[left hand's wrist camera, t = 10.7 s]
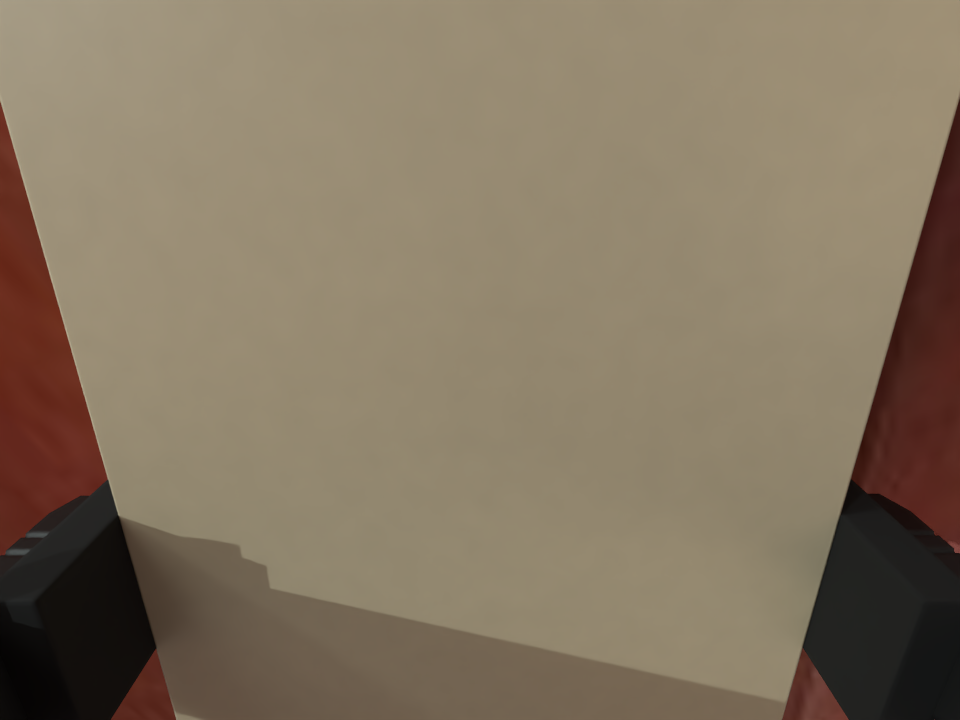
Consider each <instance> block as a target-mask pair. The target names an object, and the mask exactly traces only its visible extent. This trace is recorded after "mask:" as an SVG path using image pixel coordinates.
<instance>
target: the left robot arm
mask: <svg viewBox="0 0 960 720" xmlns="http://www.w3.org/2000/svg"><path fill="white" fill-rule="evenodd" d="M803 648H804V650H805V652H806V653H807V655H808V656H809V658H810V659H811V661H812V662H813V664H814V666H815V667H816V669H817V670H818V672H819V673H820V675H821V677H822V678H823V680H824V681H825V683H826V684H827V686H828V688H829V689H830V691H831V692H832V694H833V695H834V697H835V699H836V700H837V702H838V703H839V705H840V706H841V708H842V710H843V711H844V713H845V714H846V716H847V717H848V719H849V720H934V719H935V720H960V553H955V552H954V548H953V547H951V546H950V545H949V544H948V543H947V542H946V541H944V540H943V539H942V538H941V537H940V536H935V535H934V531H933V530H932V529H930V528H929V527H928V526H927V525H926V524H925V523H923V522H922V521H921V520H920V519H919V518H918V517H917V516H915V515H914V514H913V513H912V512H911V511H909V510H907V509H905V508H904V507H902V506H900V505H898V504H896V503H895V502H893V501H891V500H889V499H887V498H886V497H884V496H882V495H880V494H867V493H866V492H865V491H863V490H862V489H861V488H860V487H859V486H858V485H857V484H856V483H855V482H854V481H853V480H850V483H849V487H848V490H847V494H846V497H845V501H844V504H843V508H842V511H841V515H840V518H839V522H838V525H837V529H836V532H835V536H834V539H833V543H832V546H831V550H830V553H829V557H828V560H827V564H826V567H825V571H824V574H823V578H822V581H821V585H820V588H819V592H818V595H817V599H816V602H815V606H814V609H813V613H812V616H811V620H810V623H809V627H808V630H807V634H806V637H805V641H804V644H803ZM155 649H156V645H155V642H154V638H153V635H152V631H151V628H150V624H149V621H148V617H147V614H146V610H145V607H144V603H143V600H142V596H141V593H140V589H139V586H138V582H137V579H136V575H135V572H134V568H133V564H132V561H131V557H130V554H129V550H128V547H127V543H126V540H125V536H124V533H123V529H122V526H121V522H120V519H119V515H118V512H117V508H116V505H115V501H114V498H113V494H112V491H111V487H110V484H109V480H107V481H106V482H105V483H104V484H102V485H101V486H100V487H99V488H98V489H97V490H96V491H95V492H94V493H93V494H91V495H90V496H80V497H78V498H76V499H74V500H72V501H71V502H69V503H67V504H65V505H63V506H62V507H60V508H58V509H56V510H54V511H53V512H51V513H49V514H48V515H47V516H46V517H45V518H43V519H42V520H41V521H40V522H39V523H38V524H37V525H35V526H34V527H33V528H32V529H31V530H30V531H28V532H27V533H26V537H25V538H20V539H19V540H18V541H17V542H16V543H15V544H13V545H12V546H11V547H10V548H9V549H8V550H6V554H5V555H1V556H0V720H111V718H112V716H113V715H114V713H115V712H116V710H117V709H118V707H119V705H120V704H121V702H122V701H123V699H124V698H125V696H126V694H127V693H128V691H129V690H130V688H131V687H132V685H133V683H134V682H135V680H136V679H137V677H138V676H139V674H140V672H141V671H142V669H143V668H144V666H145V665H146V663H147V662H148V660H149V658H150V657H151V655H152V654H153V652H154V651H155Z"/></svg>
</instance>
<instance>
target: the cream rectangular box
mask: <svg viewBox="0 0 960 720" xmlns="http://www.w3.org/2000/svg"><path fill="white" fill-rule="evenodd" d="M959 98H960V0H0V101H1V104H2V108H3V111H4V115H5V118H6V122H7V125H8V129H9V132H10V136H11V139H12V143H13V146H14V150H15V153H16V157H17V160H18V164H19V168H20V171H21V175H22V178H23V182H24V185H25V189H26V192H27V196H28V199H29V203H30V206H31V210H32V213H33V217H34V220H35V224H36V227H37V231H38V234H39V238H40V241H41V245H42V248H43V252H44V255H45V259H46V262H47V266H48V269H49V273H50V276H51V280H52V284H53V287H54V291H55V294H56V298H57V301H58V305H59V308H60V312H61V315H62V319H63V322H64V326H65V329H66V333H67V336H68V340H69V343H70V347H71V350H72V354H73V357H74V361H75V364H76V368H77V371H78V375H79V378H80V382H81V385H82V389H83V392H84V396H85V400H86V403H87V407H88V410H89V414H90V417H91V421H92V424H93V428H94V431H95V435H96V438H97V442H98V445H99V449H100V452H101V456H102V459H103V463H104V466H105V470H106V473H107V477H108V480H109V484H110V487H111V491H112V494H113V498H114V501H115V505H116V508H117V512H118V515H119V519H120V522H121V526H122V529H123V533H124V536H125V540H126V543H127V547H128V550H129V554H130V557H131V561H132V564H133V568H134V572H135V575H136V579H137V582H138V586H139V589H140V593H141V596H142V600H143V603H144V607H145V610H146V614H147V617H148V621H149V624H150V628H151V631H152V635H153V638H154V642H155V645H156V649H157V653H158V656H159V660H160V663H161V667H162V670H163V674H164V677H165V681H166V684H167V688H168V691H169V695H170V698H171V702H172V705H173V709H174V712H175V716H176V719H177V720H782V718H783V714H784V711H785V707H786V704H787V700H788V697H789V693H790V690H791V686H792V683H793V679H794V676H795V672H796V669H797V665H798V662H799V658H800V655H801V651H802V648H803V644H804V641H805V637H806V634H807V630H808V627H809V623H810V620H811V616H812V613H813V609H814V606H815V602H816V599H817V595H818V592H819V588H820V585H821V581H822V578H823V574H824V571H825V567H826V564H827V560H828V557H829V553H830V550H831V546H832V543H833V539H834V536H835V532H836V529H837V525H838V522H839V518H840V515H841V511H842V508H843V504H844V501H845V497H846V494H847V490H848V487H849V483H850V480H851V476H852V473H853V469H854V466H855V462H856V459H857V455H858V452H859V448H860V445H861V441H862V438H863V434H864V431H865V427H866V424H867V420H868V417H869V413H870V410H871V406H872V403H873V399H874V396H875V392H876V389H877V385H878V382H879V378H880V375H881V371H882V368H883V364H884V361H885V357H886V354H887V350H888V347H889V343H890V340H891V336H892V333H893V329H894V326H895V322H896V319H897V315H898V312H899V308H900V305H901V301H902V298H903V294H904V291H905V287H906V284H907V280H908V277H909V273H910V270H911V266H912V263H913V259H914V256H915V252H916V249H917V245H918V242H919V238H920V235H921V231H922V228H923V224H924V221H925V217H926V214H927V210H928V207H929V203H930V200H931V196H932V193H933V189H934V186H935V182H936V179H937V175H938V172H939V168H940V165H941V161H942V158H943V154H944V151H945V147H946V144H947V140H948V137H949V133H950V130H951V126H952V123H953V119H954V116H955V112H956V109H957V105H958V102H959Z"/></svg>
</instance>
